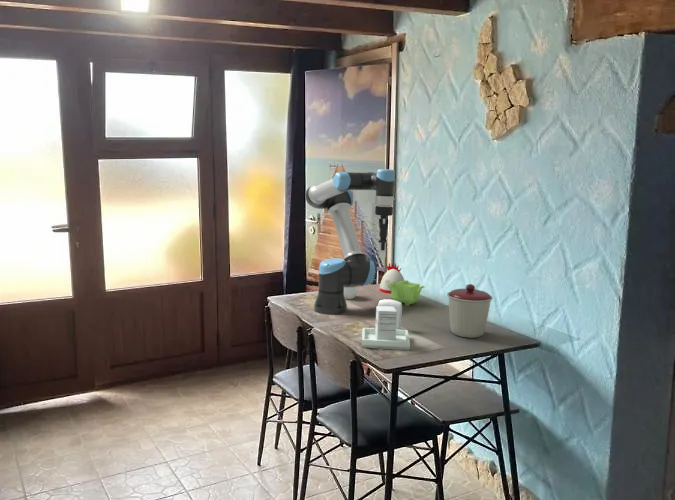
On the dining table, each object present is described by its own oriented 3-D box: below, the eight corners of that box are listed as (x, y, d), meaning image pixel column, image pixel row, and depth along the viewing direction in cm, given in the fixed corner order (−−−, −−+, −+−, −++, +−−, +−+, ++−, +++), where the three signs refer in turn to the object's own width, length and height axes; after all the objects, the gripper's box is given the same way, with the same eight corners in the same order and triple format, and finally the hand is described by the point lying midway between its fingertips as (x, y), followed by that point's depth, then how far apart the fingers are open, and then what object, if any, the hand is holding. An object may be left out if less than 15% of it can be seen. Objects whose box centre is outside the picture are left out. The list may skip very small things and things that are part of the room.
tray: (361, 347, 237) (361, 339, 237) (362, 334, 253) (362, 327, 252) (409, 350, 236) (409, 342, 236) (407, 337, 252) (407, 329, 252)
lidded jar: (335, 295, 318) (336, 277, 316) (356, 295, 319) (357, 277, 318) (338, 300, 307) (338, 281, 306) (359, 300, 309) (360, 281, 307)
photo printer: (401, 328, 264) (403, 299, 262) (399, 331, 260) (401, 302, 258) (378, 325, 267) (379, 297, 265) (375, 328, 263) (376, 299, 261)
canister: (435, 332, 261) (438, 282, 257) (465, 325, 271) (468, 278, 268) (468, 343, 246) (472, 291, 243) (498, 336, 257) (503, 286, 253)
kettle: (424, 306, 301) (425, 283, 299) (396, 307, 298) (397, 284, 296) (413, 299, 316) (414, 277, 314) (386, 299, 312) (387, 277, 310)
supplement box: (374, 336, 248) (376, 305, 245) (393, 337, 248) (394, 306, 246) (376, 342, 240) (378, 310, 238) (395, 343, 241) (397, 311, 239)
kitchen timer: (383, 287, 341) (384, 259, 338) (408, 289, 336) (409, 262, 334) (376, 292, 328) (377, 264, 325) (402, 295, 323) (404, 266, 321)
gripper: (394, 209, 255) (391, 260, 259) (392, 203, 280) (389, 250, 284) (375, 208, 256) (373, 259, 259) (375, 202, 280) (373, 249, 284)
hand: (381, 255), depth 271 cm, fingers open, 13 cm apart
